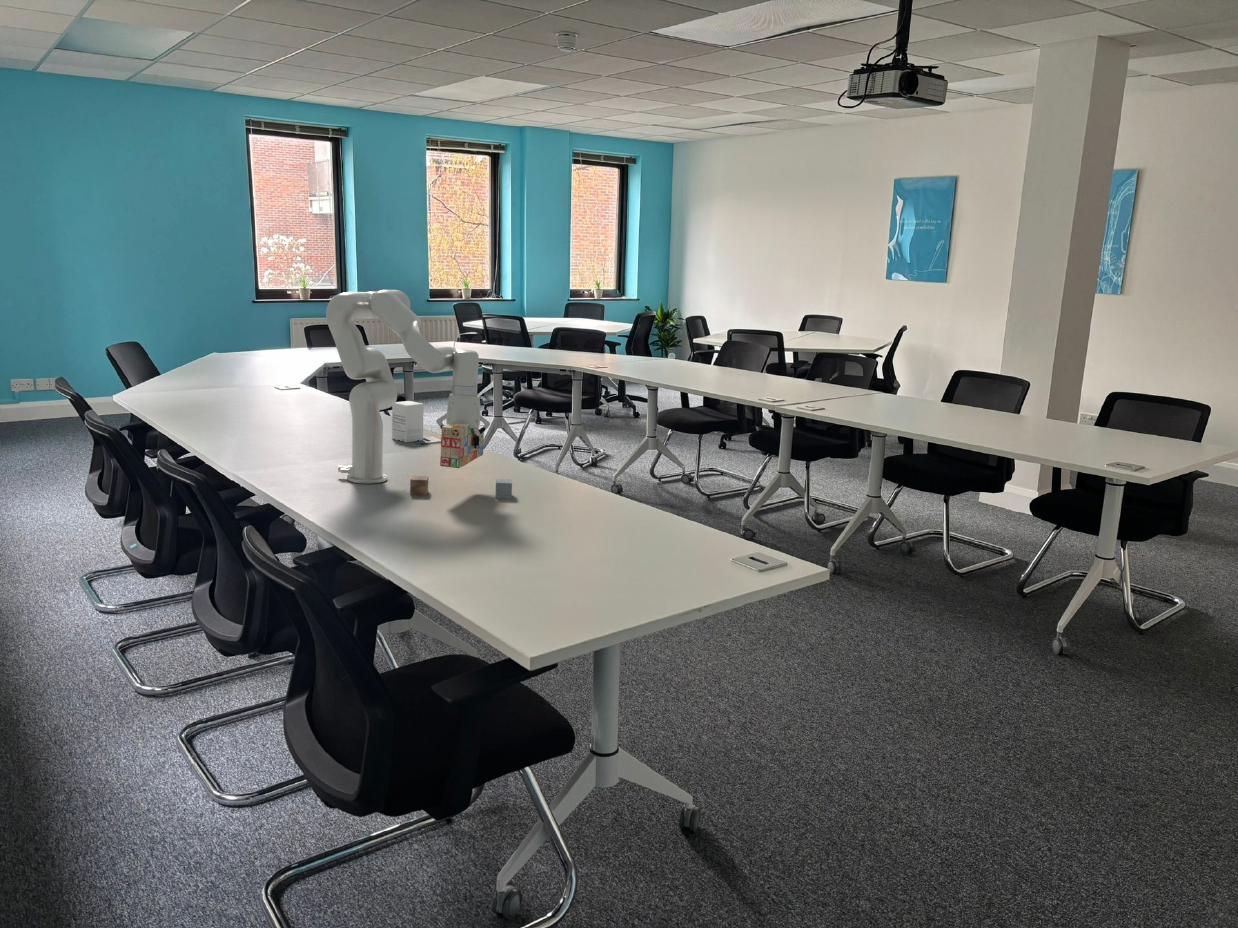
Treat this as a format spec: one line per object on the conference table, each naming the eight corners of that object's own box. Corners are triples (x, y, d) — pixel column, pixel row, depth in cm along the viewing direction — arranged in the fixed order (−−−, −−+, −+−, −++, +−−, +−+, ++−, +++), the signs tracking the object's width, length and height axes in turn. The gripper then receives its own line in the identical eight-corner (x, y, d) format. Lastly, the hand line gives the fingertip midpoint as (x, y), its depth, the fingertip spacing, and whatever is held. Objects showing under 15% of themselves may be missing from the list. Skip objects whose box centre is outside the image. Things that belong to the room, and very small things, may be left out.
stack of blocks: (464, 453, 286) (466, 415, 283) (483, 455, 285) (485, 417, 282) (439, 466, 266) (441, 426, 263) (459, 468, 264) (461, 428, 262)
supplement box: (408, 436, 360) (409, 400, 357) (423, 440, 355) (424, 403, 352) (390, 439, 353) (391, 402, 350) (406, 442, 348) (406, 405, 345)
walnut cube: (410, 495, 272) (410, 479, 270) (411, 491, 276) (412, 475, 275) (426, 495, 272) (427, 480, 271) (428, 491, 277) (428, 476, 276)
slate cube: (495, 498, 275) (495, 482, 274) (495, 494, 280) (496, 478, 279) (511, 498, 276) (512, 483, 274) (511, 494, 280) (512, 479, 279)
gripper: (434, 390, 265) (432, 448, 269) (493, 394, 268) (490, 451, 271) (436, 387, 273) (434, 443, 276) (493, 390, 275) (490, 446, 279)
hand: (462, 446), depth 274 cm, fingers closed on stack of blocks, 7 cm apart
